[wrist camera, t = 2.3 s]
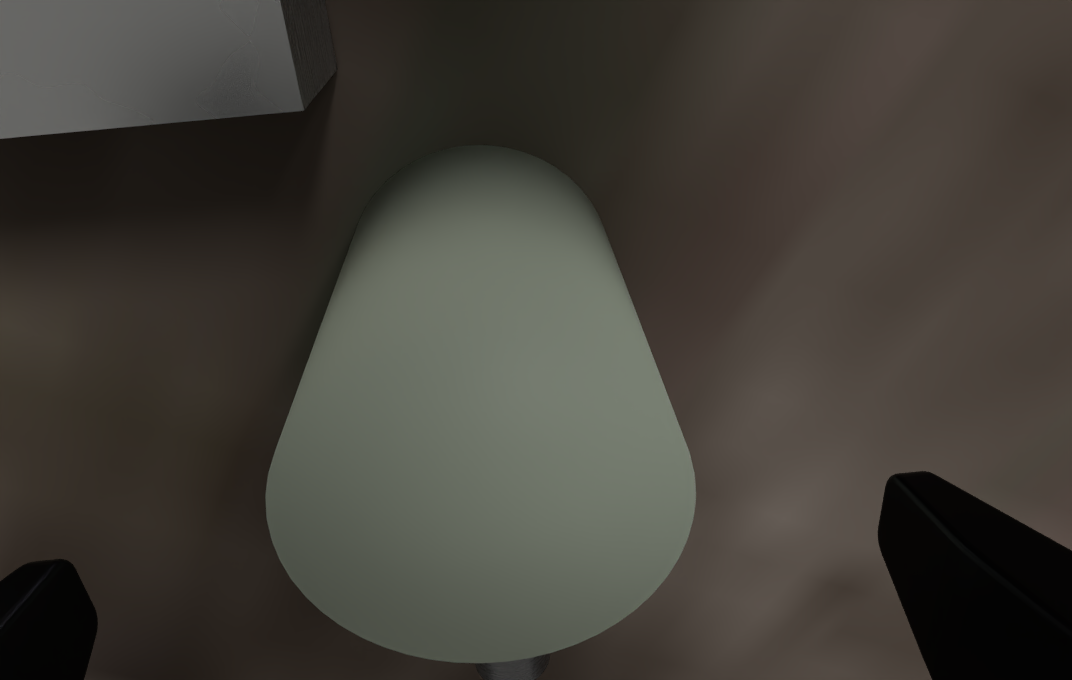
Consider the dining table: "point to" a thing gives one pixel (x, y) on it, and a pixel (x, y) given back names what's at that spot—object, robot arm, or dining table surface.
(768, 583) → the dining table surface
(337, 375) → the spout can
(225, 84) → the grey board with frame
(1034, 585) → the robot arm
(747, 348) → the dining table surface
